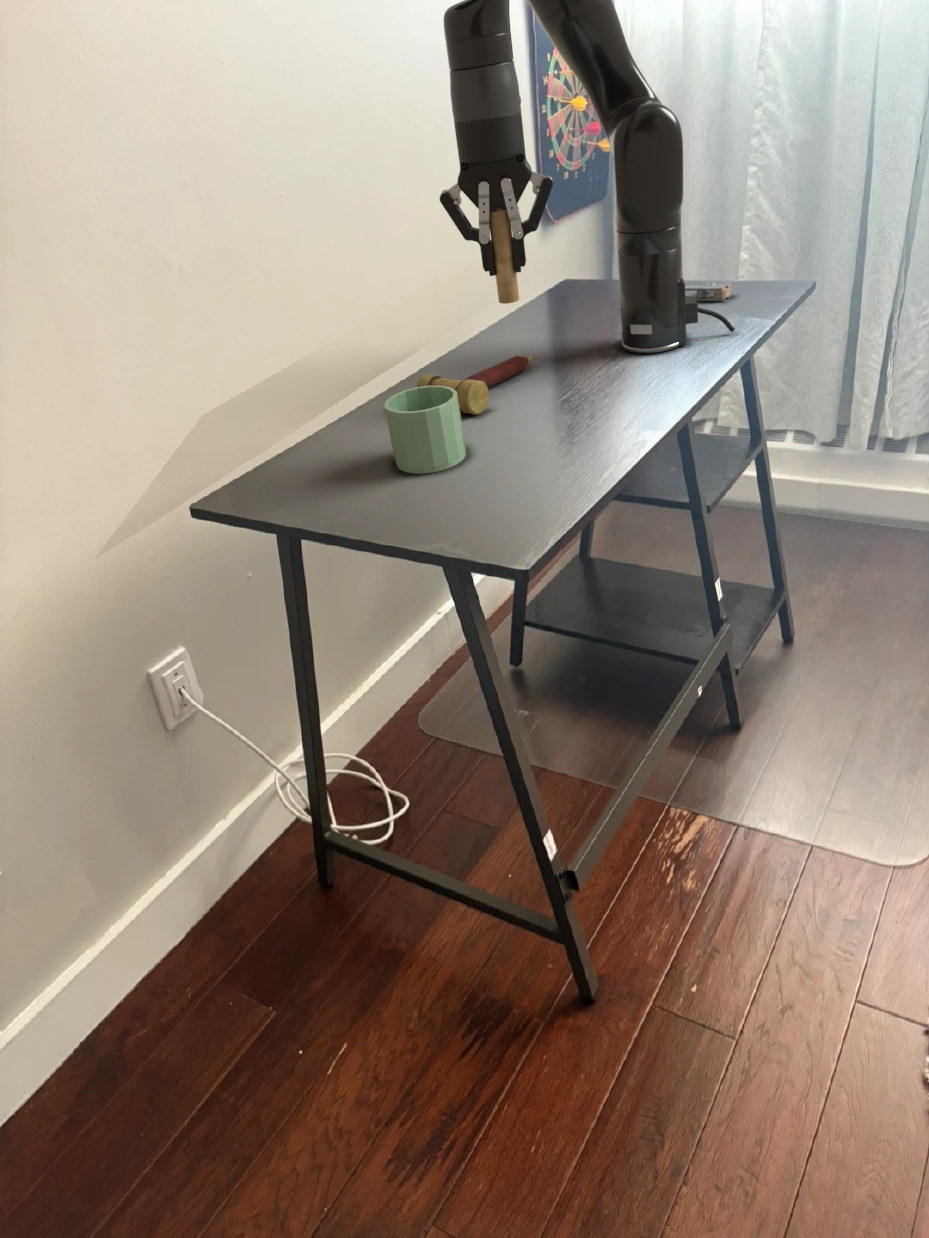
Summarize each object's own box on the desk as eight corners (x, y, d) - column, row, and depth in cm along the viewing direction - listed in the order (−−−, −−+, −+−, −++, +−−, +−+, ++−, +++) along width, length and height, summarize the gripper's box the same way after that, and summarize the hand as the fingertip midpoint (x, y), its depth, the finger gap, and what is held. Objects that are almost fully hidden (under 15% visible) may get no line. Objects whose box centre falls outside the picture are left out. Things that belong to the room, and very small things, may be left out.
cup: (467, 440, 126) (458, 381, 121) (464, 469, 118) (454, 407, 114) (400, 448, 127) (388, 390, 123) (392, 477, 119) (380, 416, 115)
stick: (519, 296, 118) (509, 205, 112) (519, 302, 116) (508, 209, 110) (498, 299, 118) (487, 209, 113) (498, 304, 116) (487, 213, 110)
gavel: (504, 341, 148) (557, 346, 142) (506, 370, 151) (558, 376, 145) (412, 379, 135) (466, 386, 129) (417, 410, 137) (470, 419, 132)
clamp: (736, 278, 163) (716, 295, 156) (736, 291, 164) (716, 309, 157) (652, 278, 170) (630, 295, 164) (652, 291, 172) (630, 308, 165)
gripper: (422, 126, 104) (446, 288, 113) (550, 105, 102) (565, 272, 111) (427, 118, 110) (450, 273, 119) (548, 99, 108) (562, 257, 118)
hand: (505, 272), depth 115 cm, fingers closed on stick, 2 cm apart
